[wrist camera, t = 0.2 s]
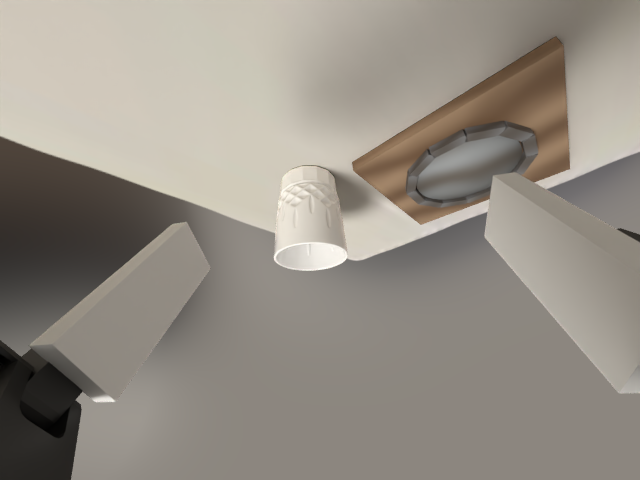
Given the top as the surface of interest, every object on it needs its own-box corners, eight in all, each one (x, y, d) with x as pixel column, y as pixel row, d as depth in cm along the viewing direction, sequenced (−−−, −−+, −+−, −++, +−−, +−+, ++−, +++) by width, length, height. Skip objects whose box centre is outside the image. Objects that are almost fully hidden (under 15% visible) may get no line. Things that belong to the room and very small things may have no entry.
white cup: (282, 155, 28) (280, 239, 24) (350, 167, 30) (360, 246, 26) (271, 197, 35) (269, 268, 30) (327, 204, 37) (333, 272, 33)
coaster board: (352, 162, 29) (354, 176, 29) (555, 36, 19) (568, 52, 18) (419, 218, 42) (421, 229, 41) (565, 160, 31) (573, 174, 30)
